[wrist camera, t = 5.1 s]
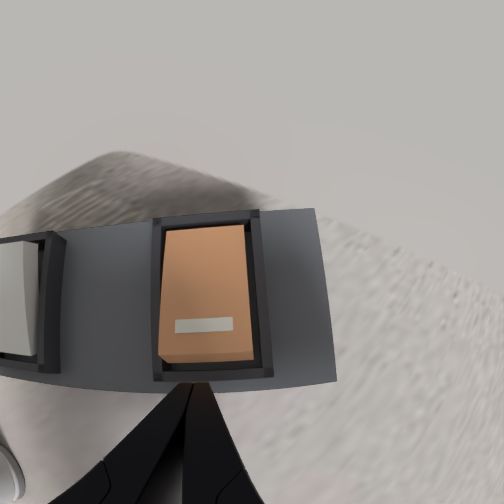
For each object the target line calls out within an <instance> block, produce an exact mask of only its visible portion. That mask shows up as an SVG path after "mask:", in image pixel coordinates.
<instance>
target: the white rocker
mask: <svg viewBox="0 0 504 504" xmlns="http://www.w3.org/2000/svg"><path fill="white" fill-rule="evenodd" d="M38 309H39V283H38V244H36V243H31V242H26V241H19V242H12V243H5V244H0V352H5V353H12V354H19V355H27V356H33V355H36V354H38V353H37V339H38Z"/></svg>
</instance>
